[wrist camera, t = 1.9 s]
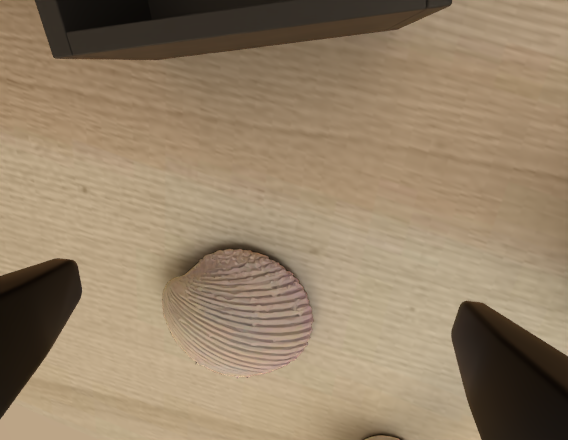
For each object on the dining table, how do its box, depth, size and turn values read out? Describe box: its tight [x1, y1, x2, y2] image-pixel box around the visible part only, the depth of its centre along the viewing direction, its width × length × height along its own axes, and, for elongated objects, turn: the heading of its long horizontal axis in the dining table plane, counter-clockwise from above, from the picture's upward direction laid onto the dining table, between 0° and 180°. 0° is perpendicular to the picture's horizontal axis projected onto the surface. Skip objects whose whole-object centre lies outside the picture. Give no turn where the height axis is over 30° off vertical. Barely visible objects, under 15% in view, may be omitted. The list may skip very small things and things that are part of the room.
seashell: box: [162, 249, 314, 378], centre depth 24 cm, size 10×6×10 cm
